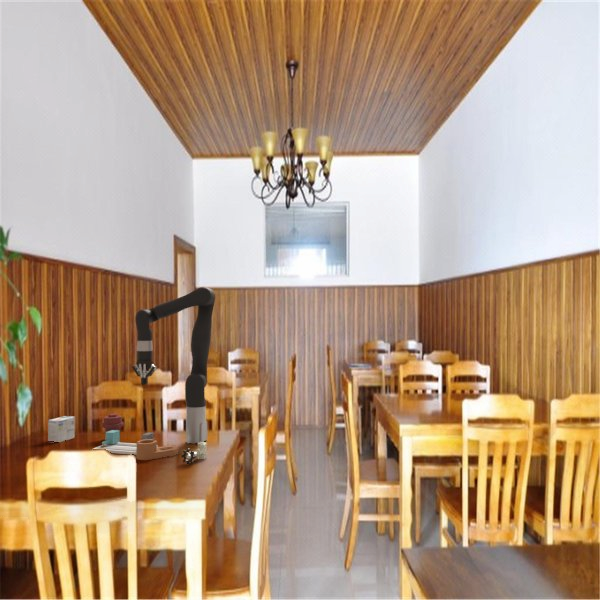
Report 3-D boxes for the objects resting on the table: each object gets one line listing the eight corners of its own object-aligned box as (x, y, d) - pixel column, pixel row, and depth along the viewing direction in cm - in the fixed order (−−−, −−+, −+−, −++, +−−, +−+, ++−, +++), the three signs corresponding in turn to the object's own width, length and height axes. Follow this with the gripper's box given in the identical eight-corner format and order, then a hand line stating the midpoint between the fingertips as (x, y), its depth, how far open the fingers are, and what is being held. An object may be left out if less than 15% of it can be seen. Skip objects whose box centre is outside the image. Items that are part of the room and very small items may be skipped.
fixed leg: (153, 445, 225) (153, 432, 226) (142, 450, 216) (142, 437, 217) (147, 444, 226) (148, 432, 226) (136, 449, 217) (136, 437, 217)
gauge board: (157, 447, 226) (157, 444, 226) (141, 455, 213) (141, 451, 213) (110, 444, 232) (110, 441, 232) (92, 451, 220) (92, 447, 220)
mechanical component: (107, 436, 247) (126, 437, 246) (97, 441, 237) (117, 442, 236) (108, 412, 248) (127, 412, 247) (98, 416, 238) (117, 416, 237)
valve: (198, 456, 212) (181, 464, 201) (198, 441, 212) (181, 447, 201) (211, 458, 209) (194, 465, 198) (211, 442, 210) (194, 449, 199)
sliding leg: (119, 442, 230) (119, 430, 230) (106, 446, 221) (107, 435, 221) (112, 441, 231) (112, 430, 231) (99, 446, 222) (99, 434, 222)
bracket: (139, 461, 205) (139, 445, 205) (134, 457, 212) (134, 440, 212) (181, 455, 215) (181, 439, 215) (174, 450, 222) (174, 435, 222)
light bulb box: (64, 437, 247) (65, 415, 248) (75, 438, 245) (75, 416, 245) (47, 442, 237) (47, 419, 237) (57, 443, 235) (58, 420, 235)
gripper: (160, 349, 243) (160, 384, 243) (137, 349, 247) (136, 383, 246) (152, 350, 236) (152, 386, 235) (128, 350, 239) (128, 385, 239)
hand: (144, 385), depth 241 cm, fingers closed
